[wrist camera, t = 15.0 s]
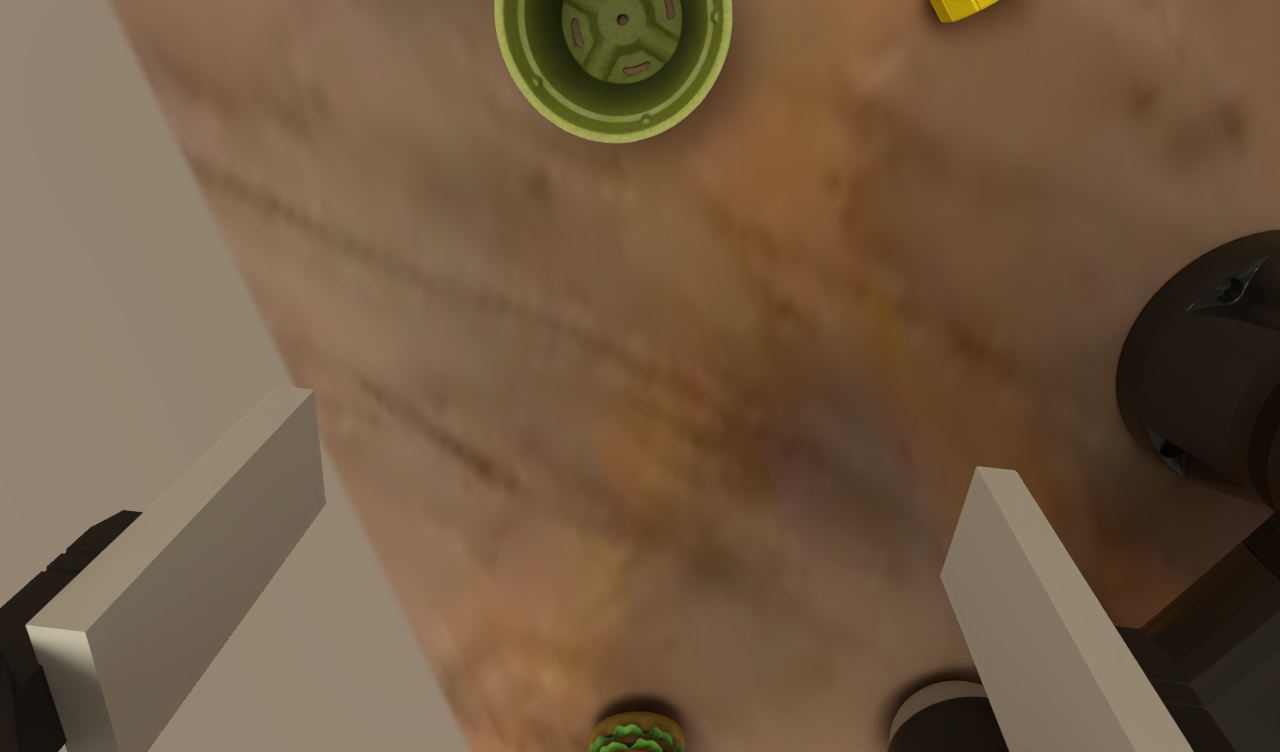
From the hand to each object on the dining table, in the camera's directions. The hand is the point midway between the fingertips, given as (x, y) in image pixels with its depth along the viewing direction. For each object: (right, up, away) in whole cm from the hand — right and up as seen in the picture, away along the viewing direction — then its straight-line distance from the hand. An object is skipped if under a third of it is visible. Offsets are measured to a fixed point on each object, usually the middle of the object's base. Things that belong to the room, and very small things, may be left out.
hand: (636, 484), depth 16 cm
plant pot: (-1, +20, +24) cm, 31 cm away
